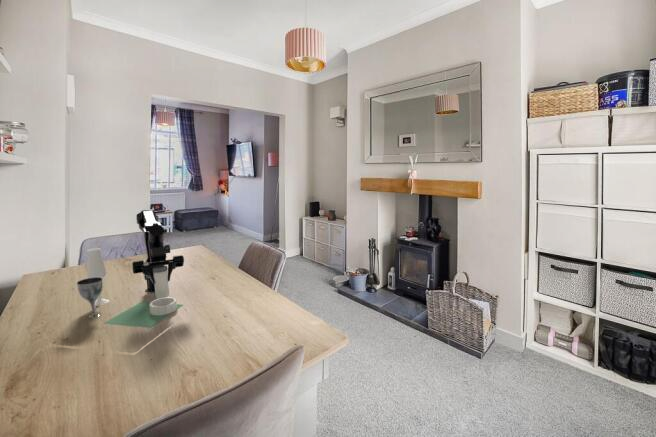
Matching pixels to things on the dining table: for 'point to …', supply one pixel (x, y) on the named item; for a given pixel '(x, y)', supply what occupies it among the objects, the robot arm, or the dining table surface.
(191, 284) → the dining table surface
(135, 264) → the robot arm
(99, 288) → the wine glass
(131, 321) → the putting green
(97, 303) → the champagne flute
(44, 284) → the dining table surface
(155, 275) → the golf ball tube
